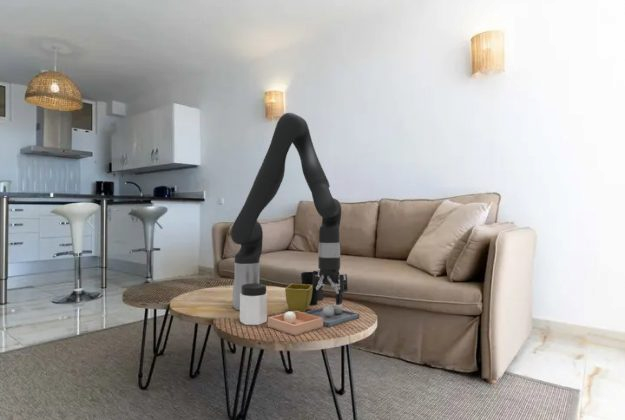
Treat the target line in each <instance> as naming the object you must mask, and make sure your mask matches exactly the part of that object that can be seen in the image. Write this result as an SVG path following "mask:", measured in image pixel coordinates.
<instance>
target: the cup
mask: <svg viewBox="0 0 625 420" xmlns="http://www.w3.org/2000/svg"><path fill="white" fill-rule="evenodd" d="M300 277H301V284H304V285H312V279H313V271H303V272H301V273H300ZM318 302H319V301H318V299H317V290H316V288H313V290H312V298H311V302H310V304H309V306H316V305H318Z"/></svg>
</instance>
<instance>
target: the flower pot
mask: <svg viewBox="0 0 625 420" xmlns="http://www.w3.org/2000/svg"><path fill="white" fill-rule="evenodd" d="M312 290H313V287H312V285H304V284H302V283H290V284H289V285H288V286H286V287H285V289H284V291H285V301H286V304H287V307H288V309H289V311H292V312H293V311H299V312H306V311H308V308H309V306H310V305H309V304H310V302H311V298H312Z"/></svg>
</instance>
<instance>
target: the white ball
mask: <svg viewBox="0 0 625 420" xmlns="http://www.w3.org/2000/svg"><path fill="white" fill-rule="evenodd" d="M283 314H284V321H285V322H287V323H290V324H292V323H294V322H295V320H296V315H295V313H294V312H292V311H290V310H289V311H286V312H284V313H283Z"/></svg>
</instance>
